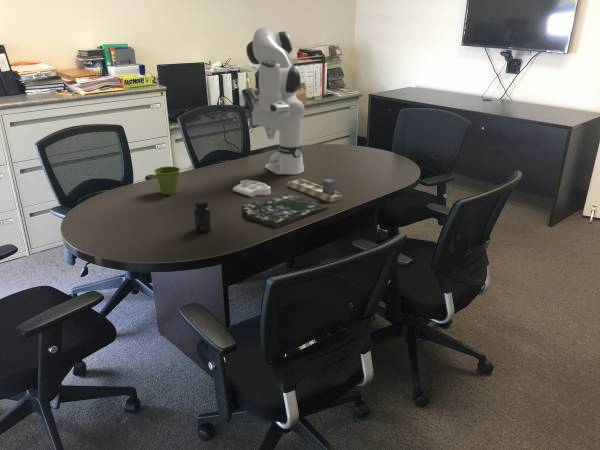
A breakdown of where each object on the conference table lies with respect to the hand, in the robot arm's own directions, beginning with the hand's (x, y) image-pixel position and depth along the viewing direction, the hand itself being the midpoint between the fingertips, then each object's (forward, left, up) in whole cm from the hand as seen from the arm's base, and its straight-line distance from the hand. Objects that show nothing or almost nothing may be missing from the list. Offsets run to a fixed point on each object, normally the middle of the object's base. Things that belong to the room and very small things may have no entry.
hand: (270, 138), depth 207 cm
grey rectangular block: (+5, +29, -29) cm, 41 cm away
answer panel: (-5, +29, -31) cm, 43 cm away
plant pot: (-49, -23, -32) cm, 62 cm away
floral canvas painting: (+3, +2, -32) cm, 32 cm away
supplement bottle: (-1, -34, -32) cm, 46 cm away
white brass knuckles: (-25, +9, -32) cm, 42 cm away
